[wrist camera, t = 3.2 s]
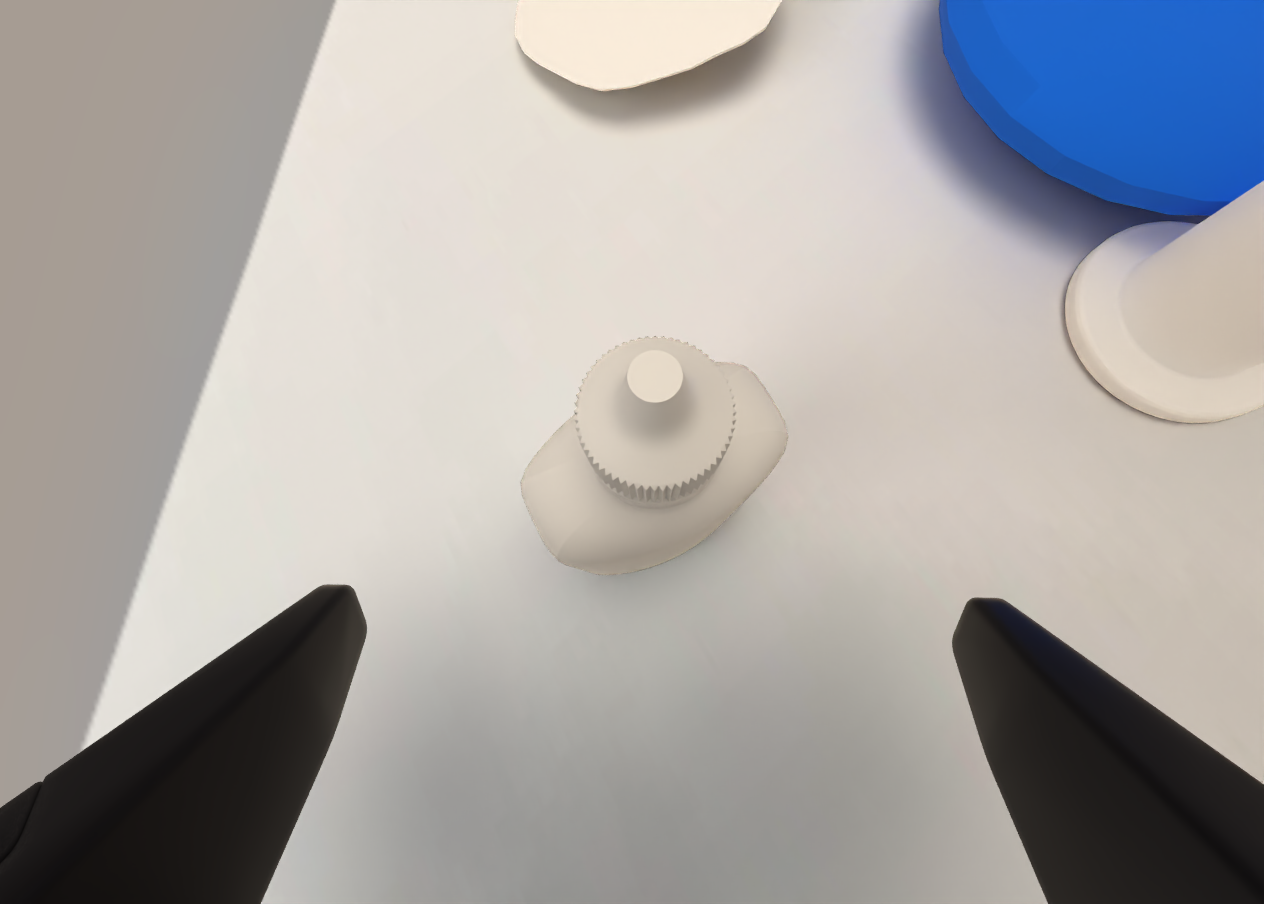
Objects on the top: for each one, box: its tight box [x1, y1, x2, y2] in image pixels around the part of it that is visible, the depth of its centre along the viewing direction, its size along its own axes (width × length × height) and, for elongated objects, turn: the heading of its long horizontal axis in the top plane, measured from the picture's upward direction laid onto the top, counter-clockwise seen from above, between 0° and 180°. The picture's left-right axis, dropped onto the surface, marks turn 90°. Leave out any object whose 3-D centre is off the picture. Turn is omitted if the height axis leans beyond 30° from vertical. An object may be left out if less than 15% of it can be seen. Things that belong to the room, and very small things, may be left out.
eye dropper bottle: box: [521, 336, 788, 575], centre depth 13 cm, size 4×6×12 cm
